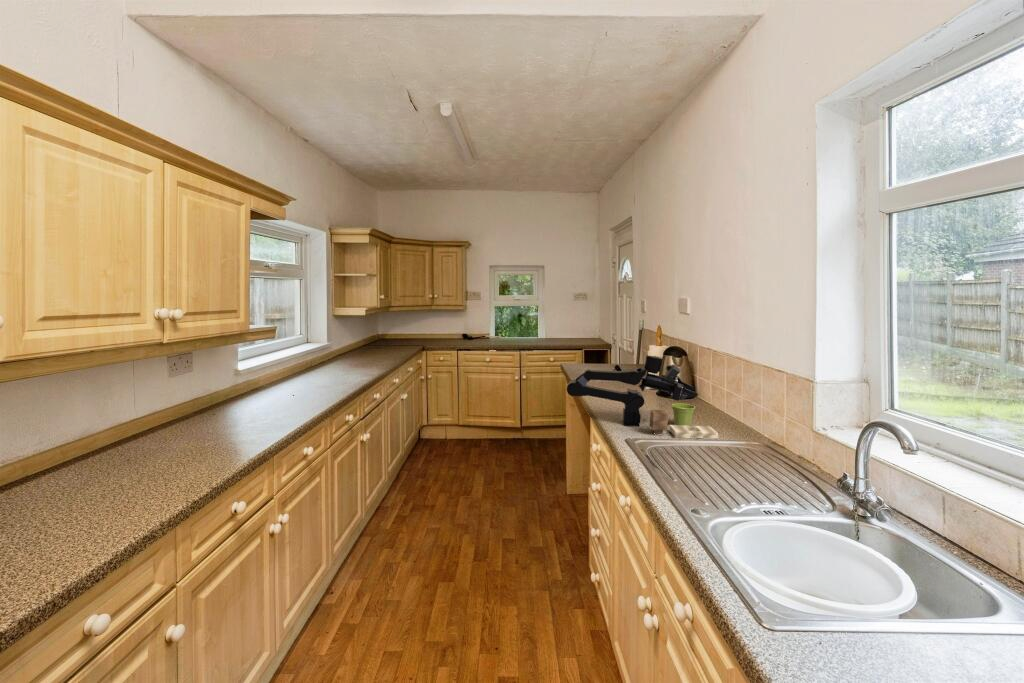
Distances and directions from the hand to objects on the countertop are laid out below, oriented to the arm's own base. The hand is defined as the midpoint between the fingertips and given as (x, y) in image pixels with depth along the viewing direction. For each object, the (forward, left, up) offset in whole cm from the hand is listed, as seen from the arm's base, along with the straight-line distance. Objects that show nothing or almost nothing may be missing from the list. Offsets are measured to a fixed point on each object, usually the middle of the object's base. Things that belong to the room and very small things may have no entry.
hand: (695, 391), depth 204 cm
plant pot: (-4, +3, -16) cm, 16 cm away
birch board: (-3, -10, -15) cm, 18 cm away
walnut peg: (-16, -10, -15) cm, 25 cm away
